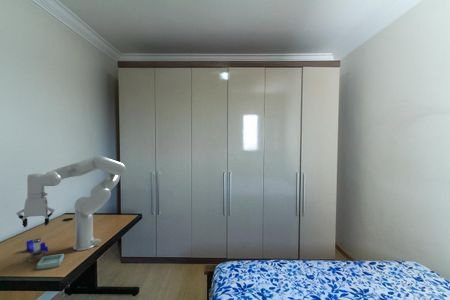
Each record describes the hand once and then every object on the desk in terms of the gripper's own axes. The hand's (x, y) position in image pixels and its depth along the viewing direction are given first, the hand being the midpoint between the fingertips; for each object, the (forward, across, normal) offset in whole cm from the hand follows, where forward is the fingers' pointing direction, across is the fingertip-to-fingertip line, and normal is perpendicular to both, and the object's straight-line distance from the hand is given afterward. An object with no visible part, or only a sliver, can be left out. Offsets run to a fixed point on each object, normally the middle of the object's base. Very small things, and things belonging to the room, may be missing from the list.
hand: (36, 225), depth 134 cm
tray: (+19, -9, +9) cm, 23 cm away
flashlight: (+19, 0, 0) cm, 19 cm away
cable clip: (+20, +3, -12) cm, 23 cm away
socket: (+19, 0, 0) cm, 19 cm away
